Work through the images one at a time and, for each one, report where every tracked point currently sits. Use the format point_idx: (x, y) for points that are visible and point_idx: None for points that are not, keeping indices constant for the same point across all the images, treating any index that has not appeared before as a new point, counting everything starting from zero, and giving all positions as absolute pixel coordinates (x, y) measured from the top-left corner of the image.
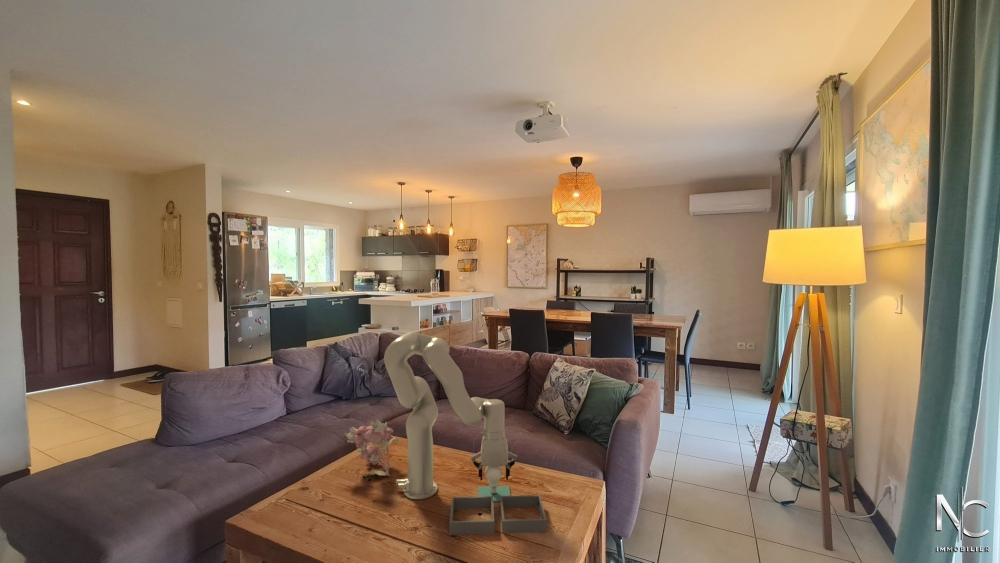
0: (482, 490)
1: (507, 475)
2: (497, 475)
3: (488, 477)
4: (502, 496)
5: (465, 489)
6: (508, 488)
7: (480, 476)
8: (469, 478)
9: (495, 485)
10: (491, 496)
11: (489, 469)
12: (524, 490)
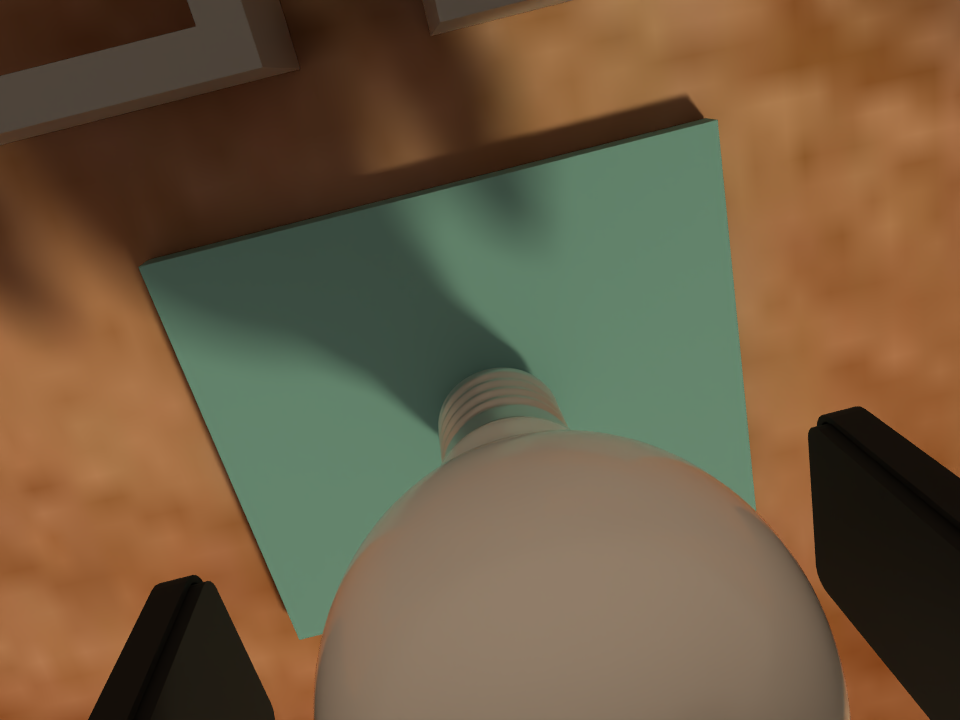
0: (682, 440)
1: (131, 665)
2: (408, 545)
3: (683, 460)
4: (196, 54)
5: (926, 436)
6: (289, 576)
7: (922, 454)
8: (880, 676)
9: (465, 438)
10: (470, 1)
11: (758, 683)
12: (47, 604)
